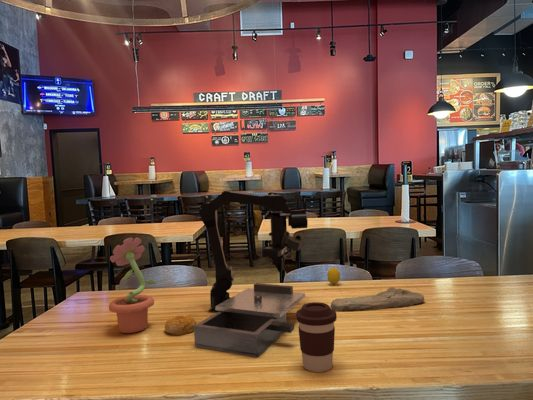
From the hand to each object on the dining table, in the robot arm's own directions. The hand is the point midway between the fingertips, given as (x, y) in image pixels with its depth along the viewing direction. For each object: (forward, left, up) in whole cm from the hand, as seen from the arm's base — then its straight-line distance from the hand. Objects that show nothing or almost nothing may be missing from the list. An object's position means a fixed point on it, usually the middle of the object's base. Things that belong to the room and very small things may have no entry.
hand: (280, 272), depth 143 cm
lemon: (+10, +35, -13) cm, 39 cm away
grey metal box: (+3, -30, -13) cm, 33 cm away
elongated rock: (+32, +13, -14) cm, 37 cm away
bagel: (-22, -30, -13) cm, 40 cm away
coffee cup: (+26, -39, -13) cm, 49 cm away
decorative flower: (-37, -35, -13) cm, 53 cm away
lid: (0, -16, -7) cm, 17 cm away
